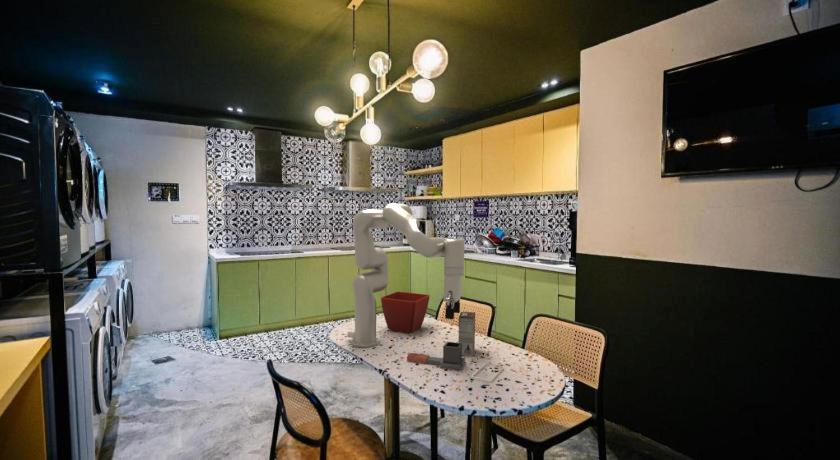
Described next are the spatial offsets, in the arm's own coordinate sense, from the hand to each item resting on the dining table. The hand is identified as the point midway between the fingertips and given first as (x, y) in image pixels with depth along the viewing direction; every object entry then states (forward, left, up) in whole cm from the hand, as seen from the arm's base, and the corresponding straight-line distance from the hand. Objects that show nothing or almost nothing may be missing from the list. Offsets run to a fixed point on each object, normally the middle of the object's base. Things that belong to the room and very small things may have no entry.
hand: (452, 315), depth 150 cm
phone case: (+14, -3, -20) cm, 25 cm away
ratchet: (-8, 0, -19) cm, 21 cm away
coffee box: (+2, +17, -20) cm, 26 cm away
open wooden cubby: (0, 0, -17) cm, 17 cm away
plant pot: (-34, +39, -20) cm, 55 cm away
